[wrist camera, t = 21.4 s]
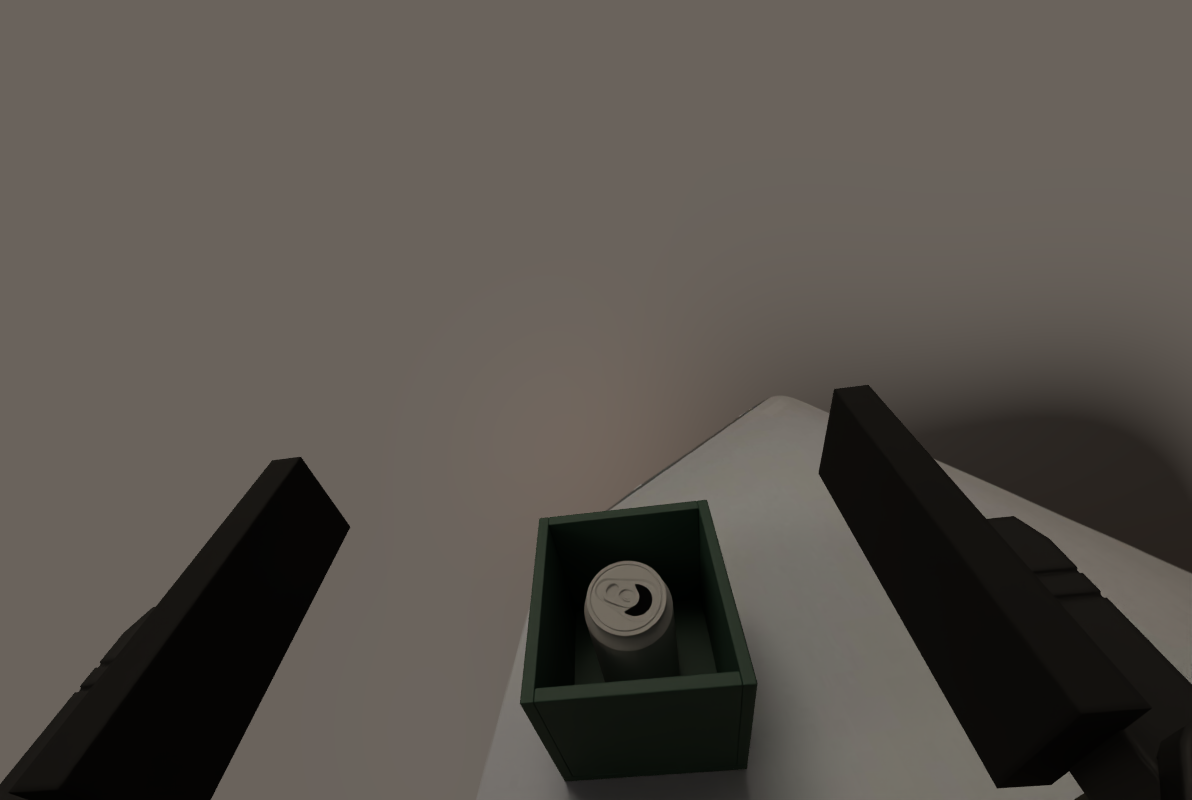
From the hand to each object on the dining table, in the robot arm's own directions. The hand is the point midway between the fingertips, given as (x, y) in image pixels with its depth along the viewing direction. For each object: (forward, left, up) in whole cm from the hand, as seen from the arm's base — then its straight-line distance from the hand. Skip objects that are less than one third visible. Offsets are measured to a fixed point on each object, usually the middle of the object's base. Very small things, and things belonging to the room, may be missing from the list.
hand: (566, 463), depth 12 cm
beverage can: (-2, +10, -34) cm, 36 cm away
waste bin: (-1, +10, -35) cm, 36 cm away
